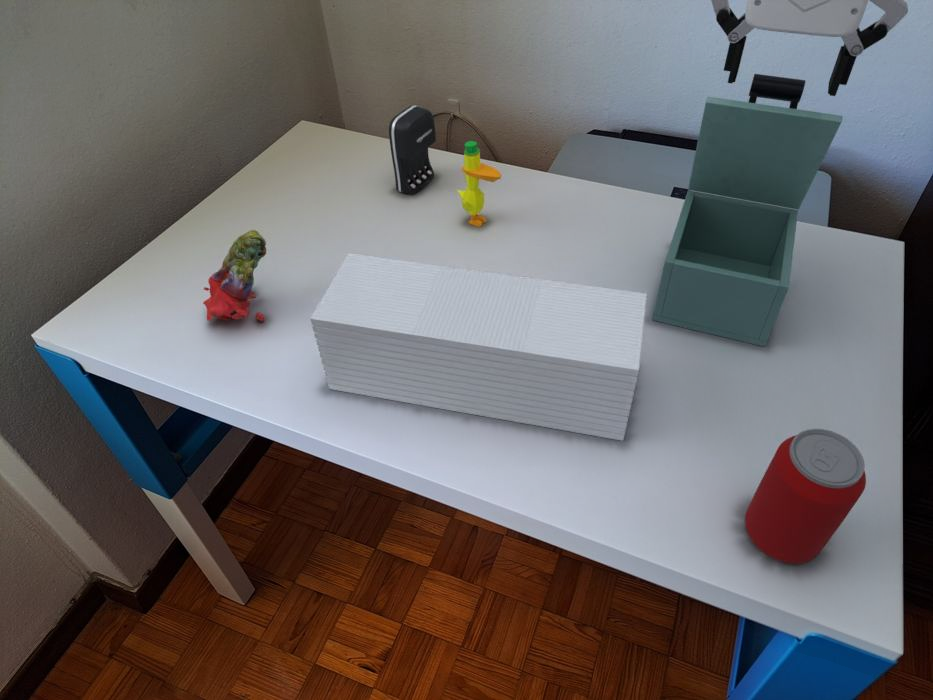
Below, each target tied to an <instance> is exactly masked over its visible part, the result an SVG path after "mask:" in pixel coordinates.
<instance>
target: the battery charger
mask: <svg viewBox="0 0 933 700" xmlns="http://www.w3.org/2000/svg"><path fill="white" fill-rule="evenodd" d="M388 137H389V146H390V152H391V153H390V154H391V161H392V165H393V173H394V181H395V189H396V190H397V191H398V192H399V193H404V194H409V195H413V194H416V193H417V192H419V191H421V189H423V188H424V187H425V186H426V185H427V184H429V183H430V182H431V181H432V180H433V179H434V177H435V172H434V169H433V166H432V164H431V161H430V157H429V148H430V147H431V146H432V145H433V144H434V143H436V141H437V138H436V137H437V135H436V126H435V118H434V115H433V112H432V111H430V110H429V109H427V108H424V107H420V106H419V105H417V104H416V105H410V106H408V107H406V108H405V109H403V110H402V111H400V112H399V113H397V115H395V116H393V118H392V119H391V120H390V122H389V125H388Z"/></svg>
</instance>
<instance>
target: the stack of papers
mask: <svg viewBox="0 0 933 700" xmlns="http://www.w3.org/2000/svg"><path fill="white" fill-rule="evenodd" d="M647 297H648V293H647V292H640V291H634V290H633V291H632V290H625V289H618V288H611V287H603V286H595V285H587V284H582V283H581V284H580V283H575V282H574V283H573V282H567V281H566V282H565V281H560V280H559V281H558V280H551V279H543V278H536V277H529V276H523V275H515V274H507V273H499V272H491V271H484V270H477V269H470V268H462V267H454V266H449V265H440V264H434V263H425V262H419V261H411V260H403V259H397V258H389V257H382V256H375V255H368V254H367V255H366V254H360V253H352V252H348V253H347V255H346V257H345V258H344V259H343V262H342V264H341V265H340V267H339V269H338V271H337V273H335V275H334V277H333V279H332V281H331V282H330V284H329V286H328V287H327V289H326V291H325V292H324V294H323V296H322V298H321V299H320V301H319V302H318V305H317V306H316V308H315V309H314V311H313V313H312V315H311V316H310V318H309V320H310V323H311V325H312V331H313V335H314V338H315V339H316V340H315V341H316V345H317V348H318V353H319V357H320V361H321V365H322V367H323V371H324V376H325V377H326V378H325V379H326V382H327V386H328V389H329V390H333V391H340V392H345V393H350V394H356V395H361V396H367V397H373V398H378V399H384V400H388V401H389V400H390V401H396V402H402V403H407V404H413V405H418V406H424V407H430V408H435V409H442V410H447V411H452V412H458V413H462V414H469V415H474V416H481V417H487V418H491V419H498V420H504V421H509V422H515V423H520V424H526V425H532V426H537V427H542V428H549V429H554V430H558V431H566V432H570V433H577V434H583V435H588V436H593V437H598V438H599V437H600V438H605V439H610V440H617V441H621V442H622V441H624V439H625V435H626V431H627V425H628V420H629V418H630V412H631V407H632V403H633V400H634V399H633V398H634V395H635V390H636V385H637V381H638V377H639V372H640V365H641V355H642V345H643V336H644V325H645V317H646V307H647Z"/></svg>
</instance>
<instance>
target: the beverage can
mask: <svg viewBox="0 0 933 700" xmlns="http://www.w3.org/2000/svg"><path fill="white" fill-rule="evenodd" d="M865 468H866V467H865V460H864V456H863V455H862V453H861V451H860V449H858V447H857V446H856V445H855V443H853V441H851V440H850V439H848V438H847V437H845V436H843V435H841V434H840V433H837V432H835V431H832V430H829V429H824V428H810V429H805V430H803V431H800V432H799V433H797V434H795V435H792V436H790V437H788V438H786V439H785V440H783V441H782V442H781V444H779V446H778V447H777V449H776V452H775V453H774V455H773V457H772V459H771V461H770V463H769V464H768V466H767V468H766V471H765V472H764V474H763V476H762V478H761V480H760V483H759V485H758V487H757V489H756V491H755V492H754V495H753V497H752V499H751V501H750V503H749V505H748V507H747V510H746V512H745V515H744V525H745V529H746V532H747V534H748V536H749V538H750V540H751V541H752V542H753V544H754V545H755V546H756V547H757V548H758V549H759V550H761V551H762V553H764V554H765V555H767V556H769V557H770V558H773V559H774V560H777V561H780V562H784V563H788V564H803V563H807V562H810V561H811V560H813V559H815V558H816V557H817V556H819V554H820V553H821V552H822V551H823V549H824V548H825V546H826V545H827V544H828V543H829V541H830V540H831V538H833V535H834V534H835V533H836V532H837V530H838V529H839V528H840V526H841V525H842V523H843V522H844V521H845V519H846V518H847V516H848V515H849V514H850V513H851V511H852V509H853V508H854V506H855V505H856V503H857V502H858V501H859V499H860V498H861V496H862V495H863V494H864V491H865V489H866V485H867V476H866V475H867V474H866V472H865V471H866V470H865Z"/></svg>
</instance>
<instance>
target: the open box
mask: <svg viewBox="0 0 933 700" xmlns="http://www.w3.org/2000/svg"><path fill="white" fill-rule="evenodd" d="M798 214H799V209H793V208H788V207H782V206H777V205H771V204H765V203H760V202H754V201H749V200H743V199H738V198H732V197H727V196H721V195H716V194H710V193H705V192H699V191H694V190H687V191H686V195H685V198H684V202H683V205H682V208H681V210H680V214H679V217H678V220H677V223H676V227H675V230H674V233H673V236H672V239H671V242H670V244H669V245H670V246H669V248H668V251H667V254H666V258H665V261H664V265H663V270H662V274H661V278H660V281H659V282H660V283H659V288H658V292H657V296H656V301H655V305H654V309H653V314H652V317H651V320H652V321H654V322H659V323H663V324H667V325H671V326H675V327H678V328H679V327H680V328H684V329H688V330H693V331H697V332H701V333H705V334H709V335H713V336H716V337H722V338H726V339H730V340H734V341H739V342H743V343H746V344H747V343H748V344H751V345H754V346H760V347H764V348H765V346H766V345H767V343H768V340H769V337H770V335H771V333H772V330H773V327H774V325H775V323H776V320H777V319H778V315H779V313H780V310H781V308H782V306H783V303H784V301H785V298H786V295H787V293H788V290H789V289H790V282H791V281H790V280H791V272H792V263H793V257H794V256H793V255H794V246H795V240H796V239H795V238H796V230H797V223H798V216H799V215H798Z"/></svg>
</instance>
